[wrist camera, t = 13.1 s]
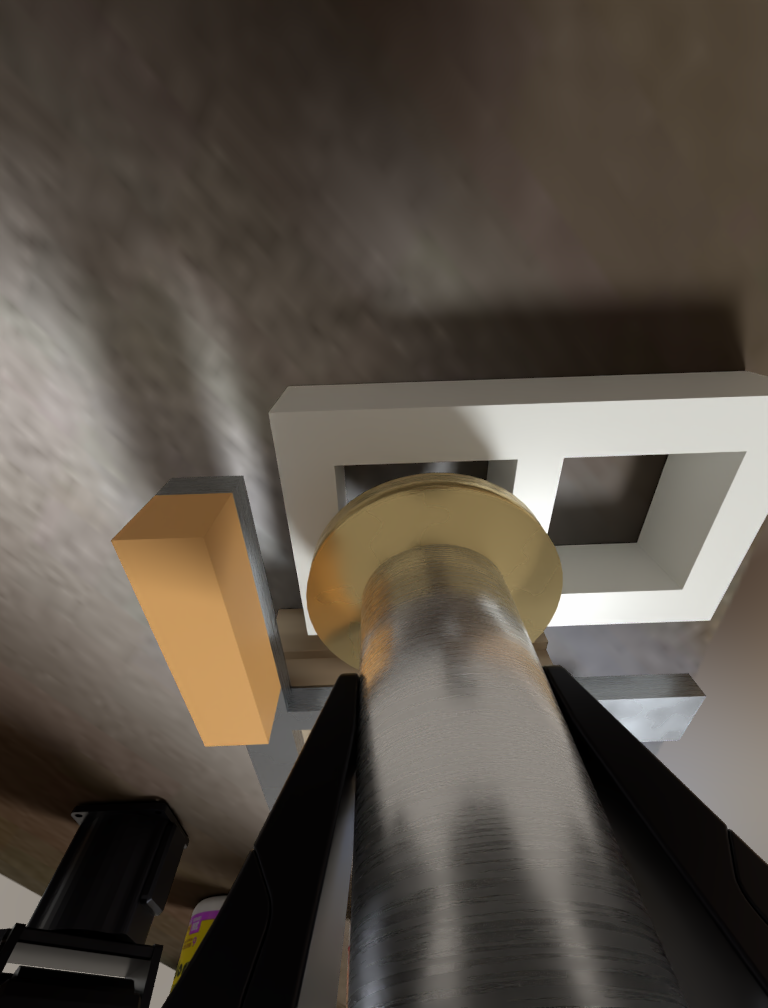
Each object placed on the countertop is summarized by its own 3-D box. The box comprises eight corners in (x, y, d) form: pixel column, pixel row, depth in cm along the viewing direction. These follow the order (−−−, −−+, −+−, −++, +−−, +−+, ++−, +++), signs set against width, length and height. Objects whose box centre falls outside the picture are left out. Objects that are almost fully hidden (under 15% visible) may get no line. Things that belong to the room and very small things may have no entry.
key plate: (284, 817, 22) (271, 892, 19) (171, 478, 11) (110, 540, 9) (615, 804, 22) (648, 877, 19) (808, 456, 11) (938, 510, 9)
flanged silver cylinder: (330, 606, 16) (268, 1110, 6) (309, 440, 12) (93, 1011, 3) (506, 599, 16) (707, 1089, 6) (535, 432, 12) (1080, 966, 3)
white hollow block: (317, 583, 18) (307, 635, 16) (288, 386, 14) (268, 412, 11) (662, 571, 18) (709, 620, 16) (746, 370, 14) (831, 393, 11)
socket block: (309, 747, 25) (299, 819, 22) (278, 609, 19) (259, 679, 16) (498, 740, 25) (517, 810, 22) (528, 600, 19) (560, 667, 16)
